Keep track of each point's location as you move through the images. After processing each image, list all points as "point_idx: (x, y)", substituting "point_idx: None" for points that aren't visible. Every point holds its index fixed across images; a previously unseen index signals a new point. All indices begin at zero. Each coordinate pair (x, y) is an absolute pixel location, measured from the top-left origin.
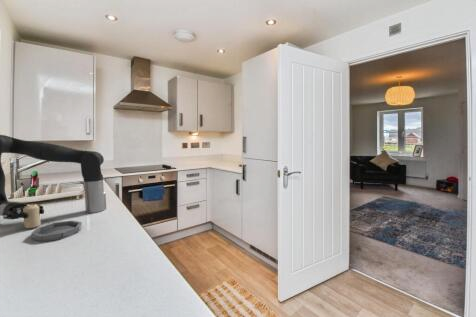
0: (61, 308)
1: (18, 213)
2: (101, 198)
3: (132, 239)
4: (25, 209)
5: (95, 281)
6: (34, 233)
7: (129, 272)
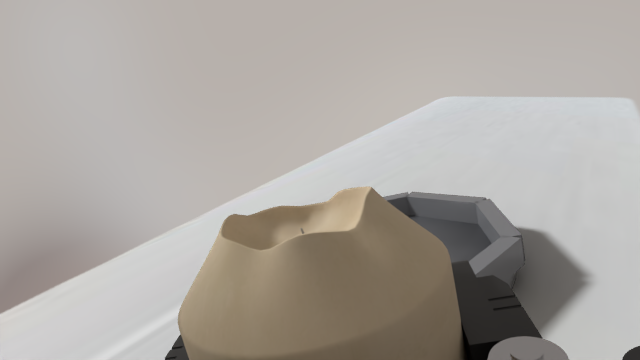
0: (552, 99)
1: (554, 356)
2: None
3: (325, 166)
4: (429, 233)
5: (487, 115)
6: (504, 230)
7: (438, 120)
